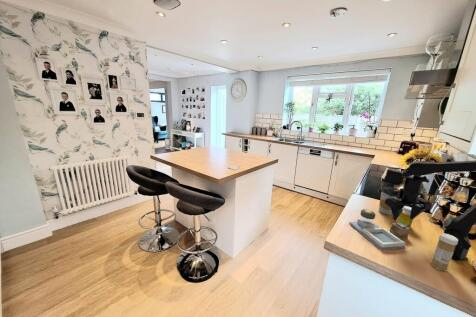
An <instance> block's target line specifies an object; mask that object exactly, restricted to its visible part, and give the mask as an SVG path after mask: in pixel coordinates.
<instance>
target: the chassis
mask: <svg viewBox="0 0 476 317" xmlns="http://www.w3.org/2000/svg"><path fill="white" fill-rule="evenodd" d="M348 225H350V226H351V227H352V228H354V229H355V231H357V232H358V233H359V234H361V235H362V236H363V237H364V238H366V239H367V240H368V241H369V242H370V243H371V244H373V245H374V246H375V247H376V248H377V249H378V250H380V251H383V250H384V251H385V250H398V249H399V250H400V249H406V242H405V241H404V240H402V239H399V238H398V237H396V236H395V235H393V234H392V233H390V230H388V229H386V228H384V227H379V226H378V225H377V224H376V223H374V222H373V221H372V220H371V219H367V218H364V217H362V218H359V217H358V218H357V221H349V222H348Z"/></svg>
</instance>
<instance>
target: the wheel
mask: <svg viewBox="0 0 476 317" xmlns="http://www.w3.org/2000/svg"><path fill="white" fill-rule="evenodd" d="M360 216H361V217H362V218H367V219H369V220H375V217H376V213H375V212H374V211H373V210H369V209H364V208H363V209H361V210H360Z"/></svg>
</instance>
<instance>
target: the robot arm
mask: <svg viewBox="0 0 476 317" xmlns="http://www.w3.org/2000/svg"><path fill="white" fill-rule="evenodd" d="M465 172H466V173H467V172H469V173H470V172H476V160H463V161H462V160H461V161H460V160H459V161H445V162H444V161H443V162H434V161H427V160H415V161H412V162H410V163H409V165H408V167H406V168H405V169H403V170H402V171H398V170H393V169H390V168H388V169H387V170H386V174H385V176H384V178H383V183H384V184H389V185H393V186H401V185H403V186H402V188H398V190H394V189H387V195H389V197H396V198H397V199H395V198H387V199H385V204H387V205H388V206H389V207H390V208H391V211H392V214H391V215H392V219H393V220H394V221H398V218H399V216H400V214H401V213H402V211H403V208H404V206H411V214H410V219H412V220H413V221H414V219H416V218H417V217H418V216H420V215H421V214H423V212H425V211H427V210H428V209H431V207H432V203H431V201H429V200H427V199H424V198H422V197H420V196H422V195H423V193H422V192H421V188H422V186H423V183H428V184H429V183H430V179H429V178H428V177H427V175H433V174H437V173H465ZM404 179H405V180H404ZM403 182H404V184H403ZM475 224H476V202H475V203H474V204H473V205H471V206H470V207H469V208H468V209H466V210H465V211H464V212H463V213H462V214H460V215H458V216H456V217H454V216H452V215H449V216H448V218H447V219H445V220H443V221H442V229H443V233H445V234H449V235H452V236H454V237H456V238H457V239H458V243H457V245H456V246H455V249H454V252H453V255H452V258H451V260H453V261H455V262H459V261H468V260H469V258H468V257H467V256H468V253H469V252H470V248H472V244H471V242H470V239H469V236H468V235H469V234H470V232H471V230H472V228H473V226H474V225H475Z"/></svg>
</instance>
